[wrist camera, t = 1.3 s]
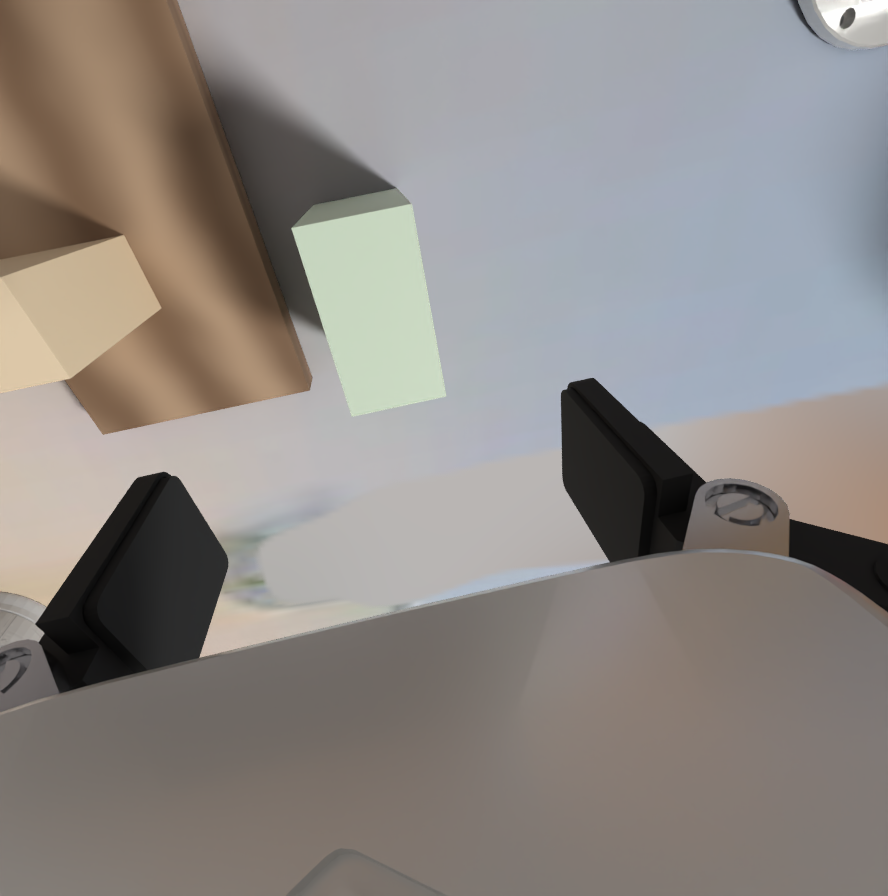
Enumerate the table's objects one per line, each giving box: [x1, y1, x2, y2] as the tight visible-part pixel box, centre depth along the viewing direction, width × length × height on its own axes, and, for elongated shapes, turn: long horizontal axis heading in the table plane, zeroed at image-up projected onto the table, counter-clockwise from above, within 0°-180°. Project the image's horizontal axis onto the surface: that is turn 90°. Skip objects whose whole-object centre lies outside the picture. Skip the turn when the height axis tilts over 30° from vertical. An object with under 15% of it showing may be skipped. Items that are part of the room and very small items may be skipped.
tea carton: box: [291, 188, 446, 417], centre depth 25 cm, size 5×9×10 cm, turn 9°
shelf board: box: [0, 0, 312, 435], centre depth 22 cm, size 14×30×5 cm, turn 9°
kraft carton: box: [0, 235, 161, 393], centre depth 21 cm, size 7×4×10 cm, turn 99°
